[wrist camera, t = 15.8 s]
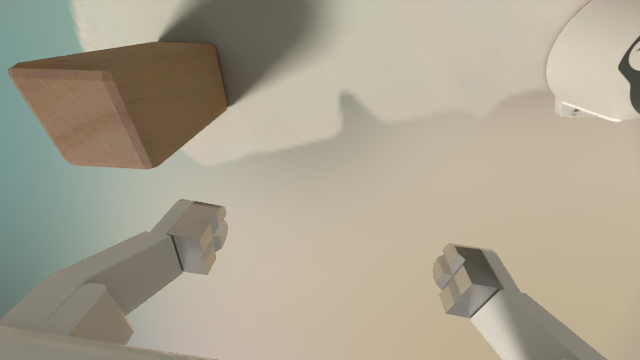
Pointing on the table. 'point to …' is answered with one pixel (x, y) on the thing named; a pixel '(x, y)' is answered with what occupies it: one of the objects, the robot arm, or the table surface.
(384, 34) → the table surface
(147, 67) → the wooden block
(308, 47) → the table surface
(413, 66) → the table surface
